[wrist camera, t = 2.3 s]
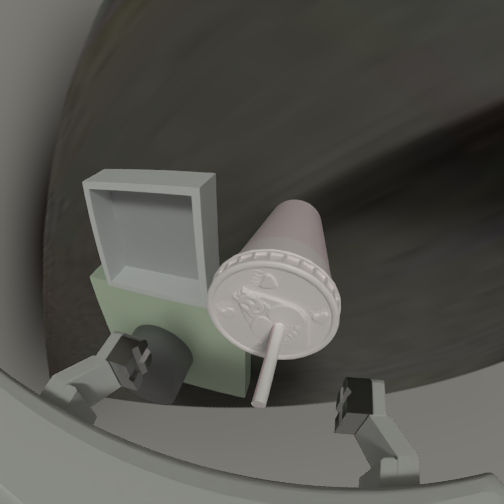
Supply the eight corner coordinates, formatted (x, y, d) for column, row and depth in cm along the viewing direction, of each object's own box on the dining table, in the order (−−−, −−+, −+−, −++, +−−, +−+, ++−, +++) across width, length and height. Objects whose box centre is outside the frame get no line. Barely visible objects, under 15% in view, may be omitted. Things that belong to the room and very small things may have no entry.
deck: (255, 176, 20) (220, 226, 14) (250, 380, 34) (233, 435, 27) (82, 169, 23) (21, 204, 17) (133, 349, 37) (106, 391, 30)
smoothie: (296, 275, 24) (256, 442, 13) (234, 221, 23) (141, 374, 11) (358, 226, 21) (370, 409, 9) (293, 162, 19) (231, 308, 8)
